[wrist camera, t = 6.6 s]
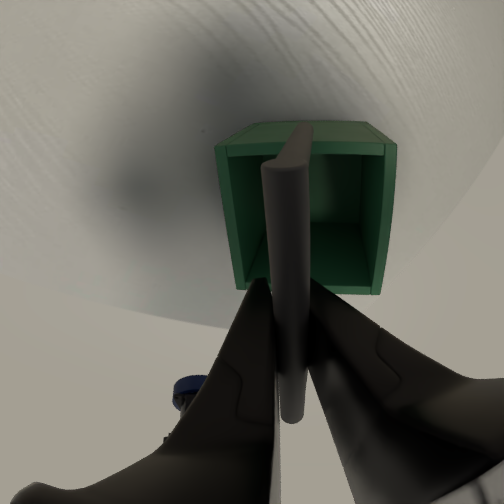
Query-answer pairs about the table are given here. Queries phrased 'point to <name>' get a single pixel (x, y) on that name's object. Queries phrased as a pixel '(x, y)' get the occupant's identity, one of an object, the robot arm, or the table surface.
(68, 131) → the table surface
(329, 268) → the pail
